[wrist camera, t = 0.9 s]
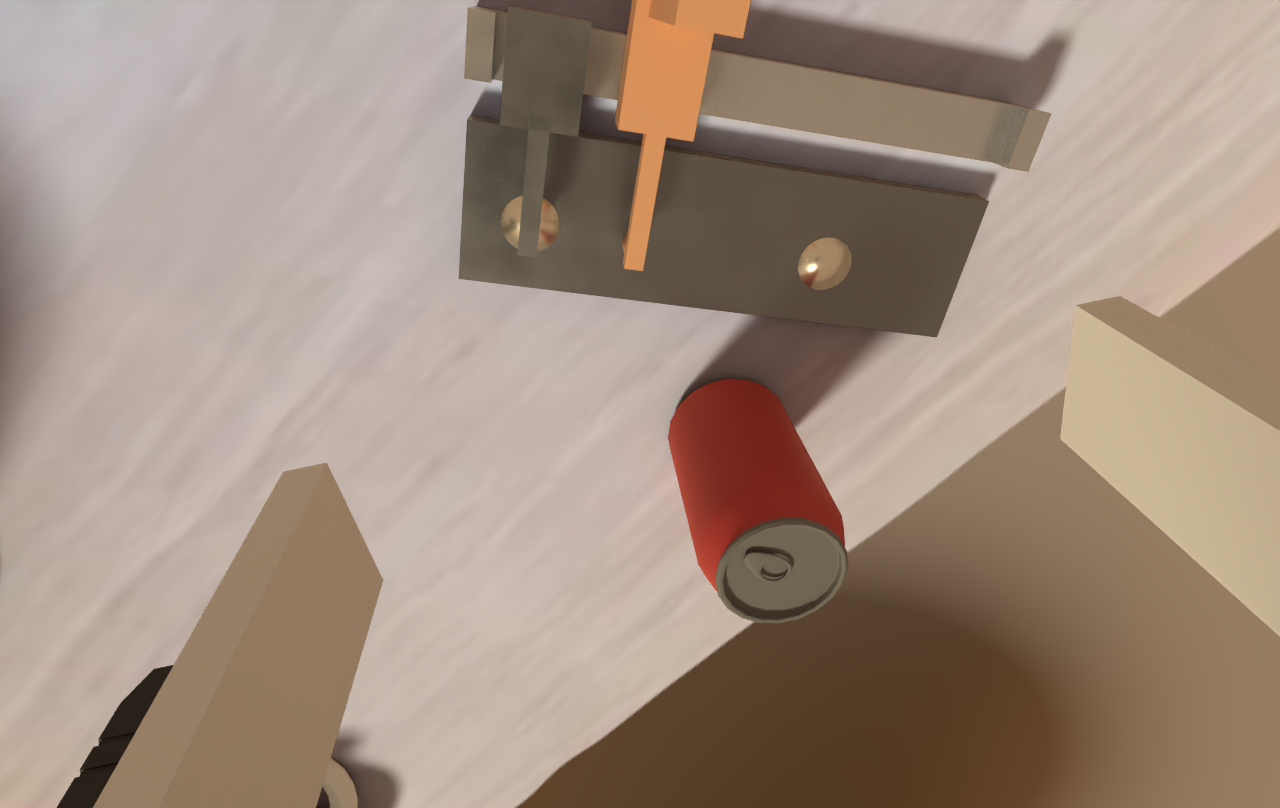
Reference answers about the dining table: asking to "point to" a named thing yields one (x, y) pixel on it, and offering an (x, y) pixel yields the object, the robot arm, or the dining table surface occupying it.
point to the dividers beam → (723, 98)
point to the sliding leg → (666, 89)
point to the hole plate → (718, 232)
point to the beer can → (756, 503)
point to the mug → (339, 787)
